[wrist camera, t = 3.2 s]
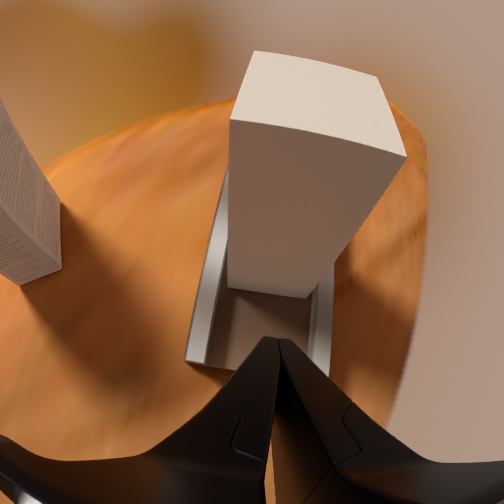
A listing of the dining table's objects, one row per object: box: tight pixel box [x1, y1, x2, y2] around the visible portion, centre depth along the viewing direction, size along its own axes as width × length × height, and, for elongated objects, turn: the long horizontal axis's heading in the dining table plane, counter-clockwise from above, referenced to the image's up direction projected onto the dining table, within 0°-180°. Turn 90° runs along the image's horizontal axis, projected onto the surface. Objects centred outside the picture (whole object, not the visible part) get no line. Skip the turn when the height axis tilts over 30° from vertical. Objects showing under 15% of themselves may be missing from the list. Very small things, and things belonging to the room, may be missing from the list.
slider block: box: [227, 51, 407, 299], centre depth 11 cm, size 4×4×10 cm
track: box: [183, 162, 334, 377], centre depth 17 cm, size 17×7×2 cm, turn 172°
